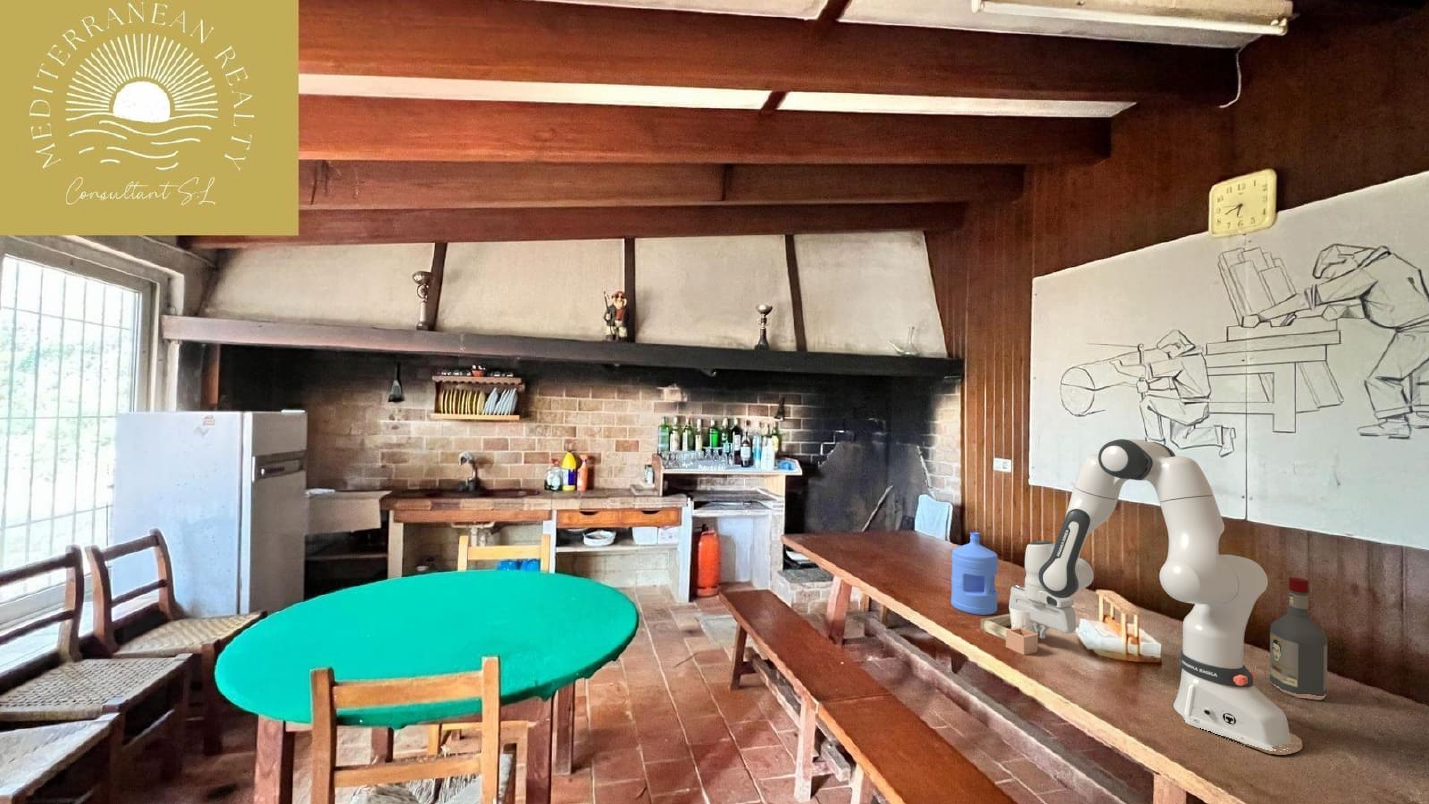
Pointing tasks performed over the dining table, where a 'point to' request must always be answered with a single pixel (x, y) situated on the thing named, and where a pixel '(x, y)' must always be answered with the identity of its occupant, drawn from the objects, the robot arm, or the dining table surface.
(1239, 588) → the robot arm
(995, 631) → the birch bay
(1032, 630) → the white cup
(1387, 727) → the dining table surface
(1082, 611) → the dining table surface
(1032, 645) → the open-top wooden box
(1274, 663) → the liquor
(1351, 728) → the dining table surface
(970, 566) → the water jug
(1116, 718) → the dining table surface
